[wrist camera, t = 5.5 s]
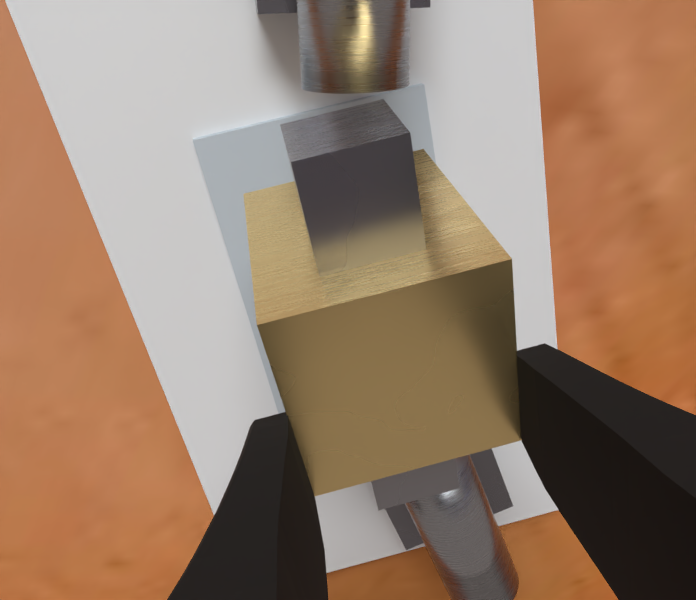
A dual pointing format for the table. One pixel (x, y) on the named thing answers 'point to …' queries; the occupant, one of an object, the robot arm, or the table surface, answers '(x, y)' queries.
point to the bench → (271, 170)
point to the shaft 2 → (464, 531)
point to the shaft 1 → (351, 42)
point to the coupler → (381, 309)
